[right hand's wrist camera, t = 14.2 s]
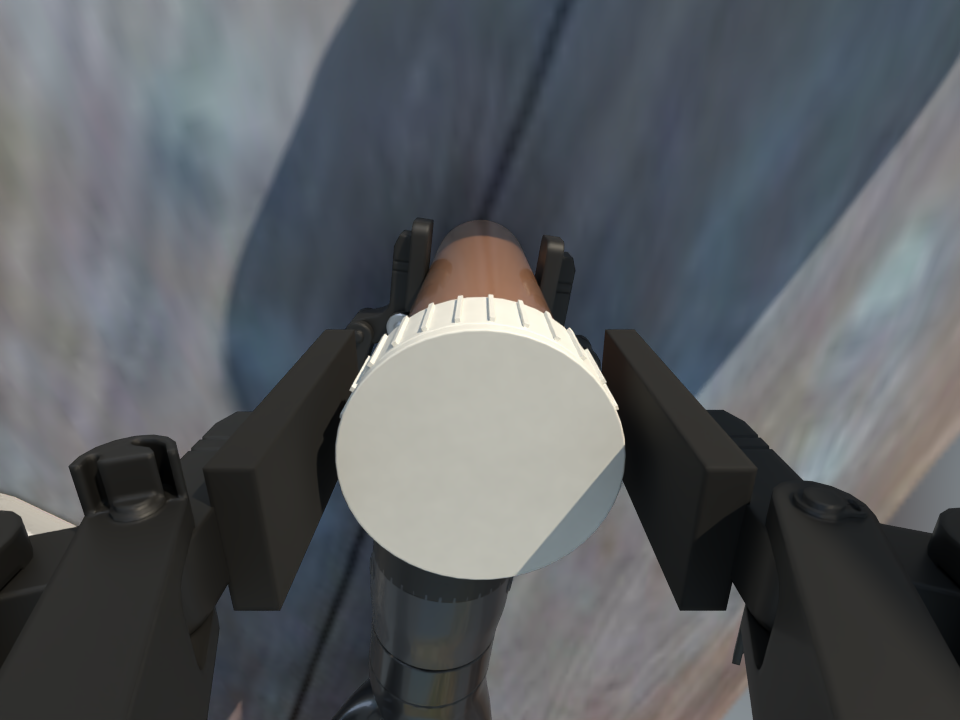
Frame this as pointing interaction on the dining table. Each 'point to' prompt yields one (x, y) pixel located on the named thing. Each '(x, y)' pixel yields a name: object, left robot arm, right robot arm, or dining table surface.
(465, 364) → the lid
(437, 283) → the brown tube
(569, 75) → the dining table surface
